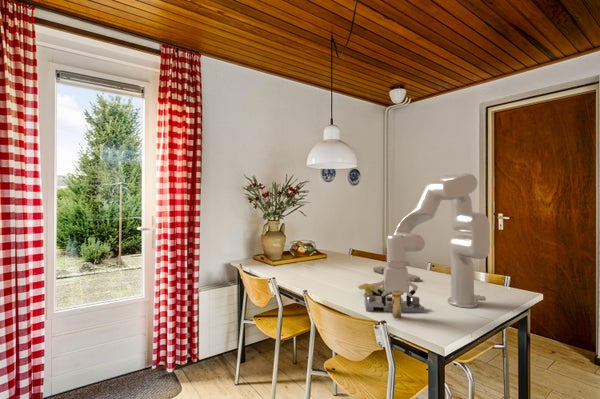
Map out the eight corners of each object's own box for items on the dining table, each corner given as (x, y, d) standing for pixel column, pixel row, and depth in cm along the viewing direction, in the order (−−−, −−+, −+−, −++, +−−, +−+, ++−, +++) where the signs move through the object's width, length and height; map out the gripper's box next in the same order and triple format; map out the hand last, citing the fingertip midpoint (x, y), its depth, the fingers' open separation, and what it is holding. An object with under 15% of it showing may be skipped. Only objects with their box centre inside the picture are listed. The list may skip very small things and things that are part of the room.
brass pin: (402, 314, 137) (402, 288, 137) (405, 319, 131) (404, 292, 131) (388, 314, 138) (388, 288, 138) (390, 319, 132) (390, 292, 132)
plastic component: (376, 282, 178) (391, 277, 172) (381, 296, 176) (396, 291, 169) (353, 287, 165) (368, 282, 158) (358, 302, 162) (373, 297, 156)
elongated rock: (413, 286, 184) (424, 284, 190) (414, 277, 184) (424, 275, 190) (368, 271, 213) (379, 270, 219) (369, 263, 213) (379, 262, 219)
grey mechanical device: (417, 305, 148) (417, 294, 148) (423, 312, 139) (423, 301, 139) (364, 304, 150) (364, 293, 150) (366, 311, 141) (366, 300, 141)
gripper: (415, 262, 137) (415, 303, 137) (373, 262, 139) (373, 301, 139) (419, 266, 129) (419, 309, 130) (375, 265, 132) (376, 307, 132)
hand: (396, 305), depth 134 cm, fingers open, 9 cm apart
